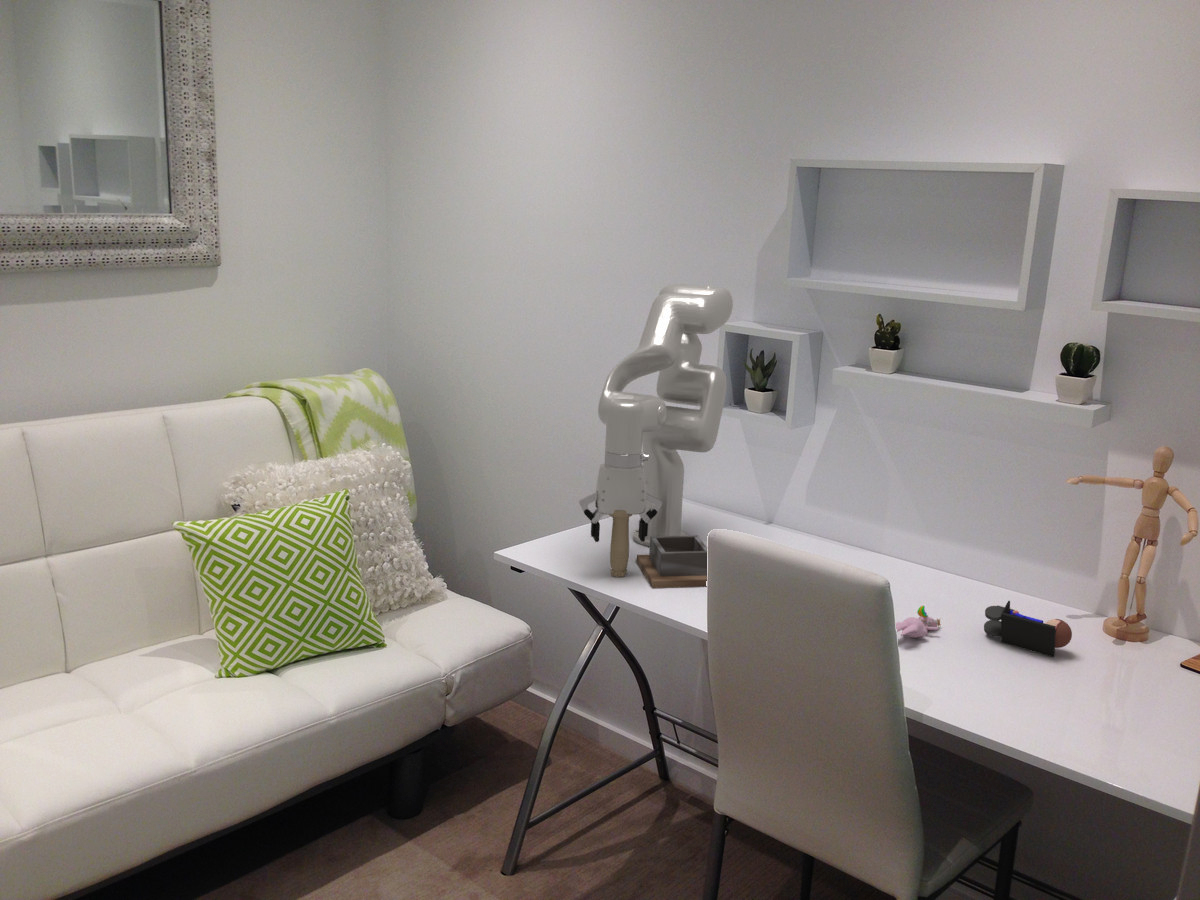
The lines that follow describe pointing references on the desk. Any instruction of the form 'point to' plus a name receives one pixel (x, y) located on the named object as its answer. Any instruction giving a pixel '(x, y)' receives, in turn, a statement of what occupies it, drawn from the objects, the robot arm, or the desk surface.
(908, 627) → the pink unicorn toy
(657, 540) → the stand
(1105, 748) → the desk surface
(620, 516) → the handle
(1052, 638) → the character figurine
